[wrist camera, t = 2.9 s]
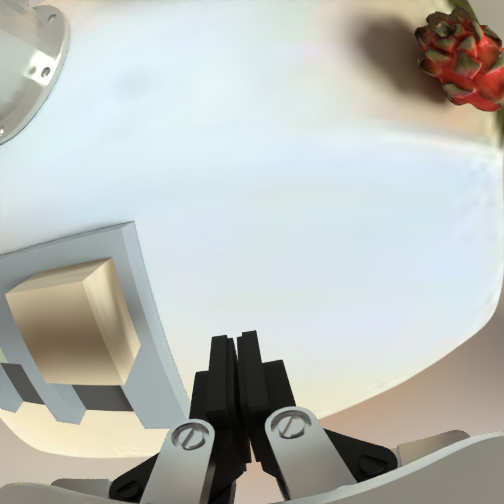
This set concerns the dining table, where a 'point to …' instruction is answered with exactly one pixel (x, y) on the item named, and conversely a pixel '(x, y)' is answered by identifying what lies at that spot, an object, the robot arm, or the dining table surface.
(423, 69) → the dragon fruit
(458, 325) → the dining table surface
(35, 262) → the board
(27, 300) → the block
